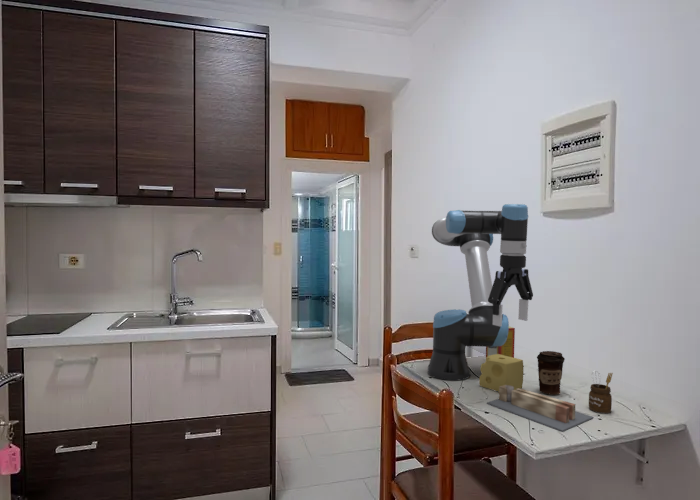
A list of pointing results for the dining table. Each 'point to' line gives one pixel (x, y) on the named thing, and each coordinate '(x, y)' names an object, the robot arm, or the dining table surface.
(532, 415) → the mat
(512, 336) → the baking soda box
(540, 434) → the dining table surface
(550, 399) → the tongs swing arm
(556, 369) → the coffee cup
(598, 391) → the utensil holder
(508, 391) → the arm
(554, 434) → the dining table surface
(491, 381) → the cheese
